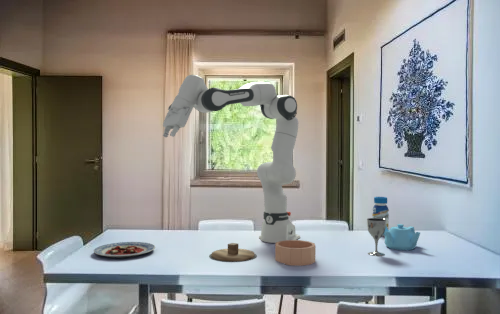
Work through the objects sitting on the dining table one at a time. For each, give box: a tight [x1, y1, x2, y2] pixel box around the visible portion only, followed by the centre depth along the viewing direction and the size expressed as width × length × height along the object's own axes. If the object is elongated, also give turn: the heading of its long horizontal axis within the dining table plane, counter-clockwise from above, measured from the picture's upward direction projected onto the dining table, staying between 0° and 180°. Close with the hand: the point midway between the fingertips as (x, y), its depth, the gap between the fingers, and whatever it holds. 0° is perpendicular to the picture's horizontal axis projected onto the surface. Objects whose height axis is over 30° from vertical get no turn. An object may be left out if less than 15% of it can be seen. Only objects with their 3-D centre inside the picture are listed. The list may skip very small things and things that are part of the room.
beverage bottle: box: [371, 196, 390, 237], centre depth 222 cm, size 8×8×20 cm
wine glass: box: [366, 217, 386, 257], centre depth 179 cm, size 8×8×15 cm
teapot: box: [383, 223, 421, 251], centre depth 192 cm, size 15×15×11 cm
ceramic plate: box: [93, 241, 156, 259], centre depth 181 cm, size 26×26×3 cm
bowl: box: [274, 239, 316, 267], centre depth 169 cm, size 16×16×6 cm
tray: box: [208, 253, 258, 263], centre depth 174 cm, size 20×20×1 cm
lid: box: [211, 242, 256, 262], centre depth 174 cm, size 18×18×5 cm
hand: (168, 136), depth 179 cm, fingers open, 8 cm apart
